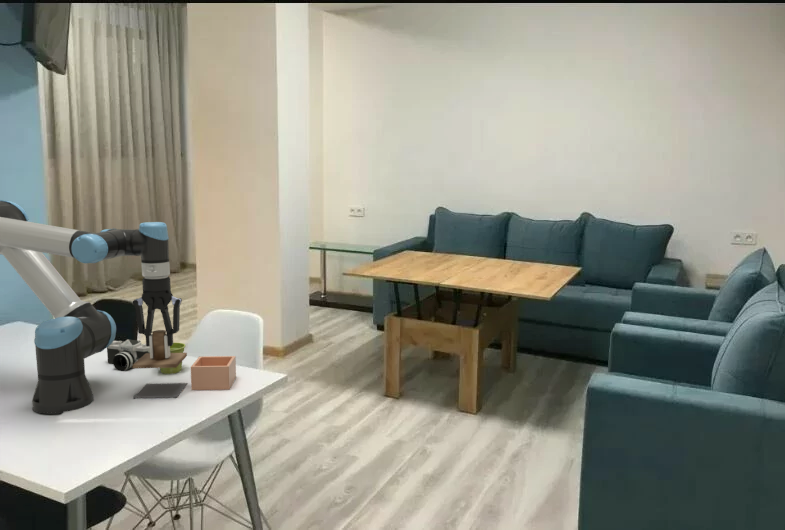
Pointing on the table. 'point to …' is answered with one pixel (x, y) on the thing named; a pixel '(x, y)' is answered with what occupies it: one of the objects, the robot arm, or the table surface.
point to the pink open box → (213, 373)
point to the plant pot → (174, 349)
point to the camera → (126, 353)
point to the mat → (161, 390)
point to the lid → (159, 355)
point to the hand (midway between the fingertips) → (160, 356)
